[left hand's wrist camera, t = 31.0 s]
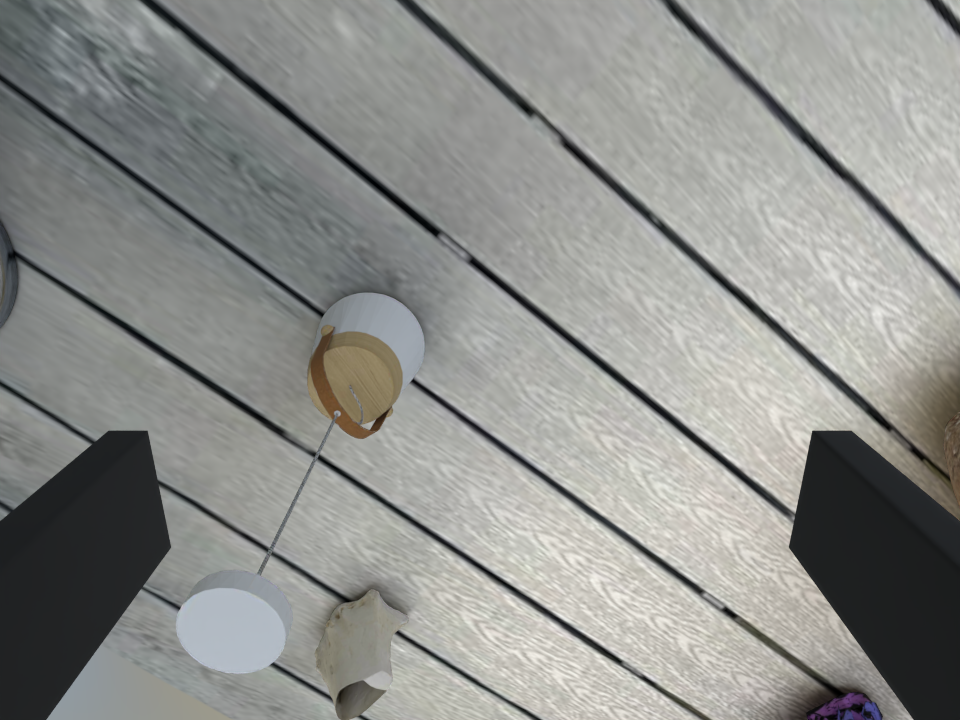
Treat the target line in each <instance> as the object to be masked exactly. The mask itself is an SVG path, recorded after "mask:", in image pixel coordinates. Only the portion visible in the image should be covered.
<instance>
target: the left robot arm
mask: <svg viewBox="0 0 960 720" xmlns="http://www.w3.org/2000/svg"><path fill="white" fill-rule="evenodd" d="M16 291H17V266H16V261H15V256H14V252H13V249H12V246H11V243H10V240H9V238H8V235H7V233H6V231H5V229H4V227H3V225H2V224H1V222H0V328H1V326H2V325H3V324H4V322H5V321H6V320H7V318H8V316H9V314H10V312H11V310H12V307H13V305H14V301H15V297H16ZM170 548H171V544H170V540H169V535H168V530H167V525H166V520H165V515H164V510H163V505H162V500H161V495H160V490H159V485H158V480H157V475H156V470H155V465H154V460H153V455H152V450H151V445H150V440H149V436H148V431H108V432H107V433H105V434H104V435H103V436H102V437H101V438H99V439H98V440H97V441H96V442H95V443H93V444H92V445H91V446H90V447H89V448H87V449H86V450H85V451H84V452H83V453H81V454H80V455H79V456H78V457H77V458H76V459H74V460H73V461H72V462H71V463H70V464H68V465H67V466H66V467H65V468H64V469H62V470H61V471H60V472H59V473H58V474H56V475H55V476H54V477H53V478H52V479H50V480H49V481H48V482H47V483H46V484H44V485H43V486H42V487H41V488H40V489H38V490H37V491H36V492H35V493H34V494H32V495H31V496H30V497H29V498H28V499H26V500H25V501H24V502H23V503H22V504H20V505H19V506H18V507H17V508H16V509H14V510H13V511H12V512H11V513H10V514H8V515H7V516H6V517H5V518H4V519H2V520H1V521H0V720H46V719H47V718H48V716H49V715H50V714H51V712H52V711H53V710H54V708H55V707H56V705H57V704H58V703H59V701H60V700H61V699H62V697H63V696H64V694H65V693H66V692H67V690H68V689H69V688H70V686H71V685H72V683H73V682H74V681H75V679H76V678H77V676H78V675H79V674H80V672H81V671H82V670H83V668H84V667H85V665H86V664H87V663H88V661H89V660H90V659H91V657H92V656H93V654H94V653H95V652H96V650H97V649H98V648H99V646H100V645H101V643H102V642H103V641H104V639H105V638H106V636H107V635H108V634H109V632H110V631H111V630H112V628H113V627H114V625H115V624H116V623H117V621H118V620H119V619H120V617H121V616H122V614H123V613H124V612H125V610H126V609H127V607H128V606H129V605H130V603H131V602H132V601H133V599H134V598H135V596H136V595H137V594H138V592H139V591H140V590H141V588H142V587H143V585H144V584H145V583H146V581H147V580H148V579H149V577H150V576H151V574H152V573H153V572H154V570H155V569H156V567H157V566H158V565H159V563H160V562H161V561H162V559H163V558H164V556H165V555H166V554H167V552H168V551H169V550H170ZM789 548H790V550H791V551H792V552H793V554H794V555H795V556H796V558H797V559H798V561H799V562H800V563H801V565H802V566H803V567H804V569H805V570H806V572H807V573H808V574H809V576H810V577H811V579H812V580H813V581H814V583H815V584H816V585H817V587H818V588H819V590H820V591H821V592H822V594H823V595H824V596H825V598H826V599H827V601H828V602H829V603H830V605H831V606H832V607H833V609H834V610H835V612H836V613H837V614H838V616H839V617H840V619H841V620H842V621H843V623H844V624H845V625H846V627H847V628H848V630H849V631H850V632H851V634H852V635H853V636H854V638H855V639H856V641H857V642H858V643H859V645H860V646H861V648H862V649H863V650H864V652H865V653H866V654H867V656H868V657H869V659H870V660H871V661H872V663H873V664H874V665H875V667H876V668H877V670H878V671H879V672H880V674H881V675H882V676H883V678H884V679H885V681H886V682H887V683H888V685H889V686H890V688H891V689H892V690H893V692H894V693H895V694H896V696H897V697H898V699H899V700H900V701H901V703H902V704H903V705H904V707H905V708H906V710H907V711H908V712H909V714H910V715H911V717H912V718H913V719H914V720H960V521H959V520H958V519H956V518H955V517H954V516H953V515H952V514H950V513H949V512H948V511H947V510H946V509H944V508H943V507H942V506H941V505H940V504H938V503H937V502H936V501H935V500H934V499H932V498H931V497H930V496H929V495H928V494H926V493H925V492H924V491H923V490H922V489H920V488H919V487H918V486H917V485H916V484H914V483H913V482H912V481H911V480H910V479H908V478H907V477H906V476H905V475H904V474H902V473H901V472H900V471H899V470H898V469H896V468H895V467H894V466H893V465H892V464H890V463H889V462H888V461H887V460H886V459H884V458H883V457H882V456H881V455H880V454H879V453H877V452H876V451H875V450H874V449H873V448H871V447H870V446H869V445H868V444H867V443H865V442H864V441H863V440H862V439H861V438H859V437H858V436H857V435H856V434H855V433H853V432H852V431H812V436H811V440H810V445H809V450H808V455H807V460H806V465H805V470H804V475H803V480H802V485H801V490H800V495H799V500H798V505H797V510H796V515H795V520H794V525H793V530H792V535H791V540H790V544H789Z"/></svg>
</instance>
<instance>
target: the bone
mask: <svg viewBox="0 0 960 720" xmlns="http://www.w3.org/2000/svg"><path fill="white" fill-rule="evenodd" d="M408 621H409V617H408V616H407V615H406V614H403V613H402V612H400V611H398V610H395V609H393V608H391V607H390V606H388V605H387V604H386V603H385V602H384V601H383V599H382V598H381V596H380V594H379V592H378V591H376V590H374V589H371V590H369V591H368V592H367V593H366V595H365V596H364V597H362V598H361V599H359V600H357V601H354V602H349V603H343V604H340V605H339V606H337V607H336V608H335V610H334V611H333V613H332V615H331V617H330V620H329V621H328V622H327V623H326V628H325V633H324V635H323V638H322V639H321V641H320V644H319V646H318V647H317V649H316V651H315V657H316V664H317V667H316V671H317V672H319V673H320V674H321V676H322V678H323V680H324V681H325V683H326V684H327V686H328V688H329V692H330V695H331V697H332V699H333V702H334V705H335V710H336V713H337V716H338V718H339V719H341V720H349V719H352V718H355V717H357V716H359V715H360V714H362V713H363V712H364V711H365V710H367V709H368V708H369V707H370V706H371V705H372V704H373V703H374V702H375V701H376V700H378V699H379V698H380V697H381V696H382V695H383V694H384V693H385V692H386V691H387V690H388V689H389V688H390V686H391V684H392V680H393V675H392V669H391V661H390V646H391V640H392V636H393V634H394V633H395V632H396V631H398V630H399V629H400V628H401V627H403V626H404V625H405V624H406V623H407V622H408Z"/></svg>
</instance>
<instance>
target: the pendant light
mask: <svg viewBox="0 0 960 720" xmlns="http://www.w3.org/2000/svg"><path fill="white" fill-rule="evenodd" d="M424 352H425V342H424V336H423V332H422V329H421V327H420V324H419V323H418V321H417V319H416V318H415V316H414V315H413V314H412V312H411V311H410V310H409V309H408V308H407V307H406V306H404V305H403V304H402V303H400V302H399V301H397V300H396V299H394V298H391V297H389V296H387V295H383V294H377V293H357V294H353V295H350V296H347V297H344V298H343V299H341V300H339V301H337V302H336V303H335V304H333V305H332V306H331V307H330V308H329V309H328V310H327V312H326V313H325V314H324V316H323V318H322V319H321V321H320V324H319V327H318V330H317V334H316V338H315V342H314V346H313V350H312V354H311V358H310V362H309V366H308V384H307V385H308V390H309V395H310V397H311V399H312V401H313V403H314V405H315V406H316V407H317V408H318V410H319V411H320V412H321V413H322V414H323V415H325V416H326V417H328V418H329V419H331V420H333V421H332V423H331V425H330V427H329V429H328V431H327V433H326V435H325V437H324V439H323V441H322V443H321V445H320V447H319V449H318V451H317V453H316V455H315V457H314V459H313V461H312V463H311V466H310V468H309V470H308V472H307V474H306V476H305V478H304V480H303V482H302V484H301V486H300V488H299V490H298V492H297V494H296V496H295V498H294V500H293V502H292V504H291V506H290V508H289V510H288V512H287V514H286V516H285V518H284V520H283V522H282V524H281V526H280V528H279V530H278V533H277V535H276V537H275V539H274V541H273V543H272V545H271V547H270V549H269V551H268V553H267V555H266V557H265V559H264V561H263V563H262V565H261V567H260V569H259V571H258V573H257V574H254V573H251V572H247V571H240V570H228V571H220V572H217V573H214V574H211V575H208V576H207V577H205V578H204V579H202V580H201V581H199V582H198V583H197V584H196V585H195V587H194V588H193V589H192V591H191V592H190V594H189V596H188V597H187V599H186V600H185V602H184V604H183V605H182V607H181V609H180V610H179V612H178V615H177V619H176V631H177V635H178V638H179V640H180V642H181V644H182V646H183V648H184V649H185V650H186V651H187V652H188V653H189V654H190V655H191V656H192V657H193V658H194V659H196V660H197V661H198V662H200V663H201V664H203V665H205V666H207V667H209V668H212V669H215V670H218V671H221V672H226V673H239V674H243V673H249V672H255V671H258V670H260V669H263V668H265V667H267V666H269V665H270V664H271V663H273V662H274V661H275V660H276V659H277V658H278V657H279V655H280V654H281V652H282V650H283V648H284V645H285V643H286V640H287V637H288V635H289V632H290V629H291V625H292V621H293V614H292V609H291V605H290V603H289V601H288V599H287V598H286V596H285V594H284V593H283V592H282V591H281V590H280V589H279V587H278V586H276V585H275V584H274V583H272V582H271V581H270V580H268V579H266V578H264V577H262V576H261V573H262V571H263V569H264V567H265V565H266V563H267V561H268V559H269V557H270V555H271V553H272V551H273V549H274V547H275V545H276V542H277V540H278V538H279V536H280V534H281V532H282V530H283V528H284V526H285V524H286V522H287V520H288V518H289V516H290V514H291V512H292V509H293V507H294V505H295V503H296V501H297V499H298V497H299V495H300V493H301V491H302V489H303V487H304V485H305V483H306V481H307V478H308V476H309V474H310V472H311V470H312V468H313V466H314V464H315V462H316V460H317V458H318V456H319V454H320V452H321V450H322V447H323V445H324V443H325V441H326V439H327V437H328V435H329V433H330V431H331V429H332V427H333V425H334V423H336V424H337V425H338V426H339V427H340V428H341V429H342V430H343V431H345V432H346V433H347V434H349V435H351V436H352V437H355V438H358V439H364V438H366V437H368V436H370V435H371V434H373V433H375V432H377V431H378V430H379V429H380V428H381V426H382V424H383V422H384V420H385V418H386V417H389V416H391V415H392V413H393V409H392V405H393V404H394V403H395V402H396V400H397V398H398V397H399V396H400V394H401V393H402V392H403V390H404V389H405V388H406V387H407V385H408V384H409V383H410V381H411V380H412V379H413V378H414V376H415V375H416V373H417V372H418V370H419V369H420V366H421V364H422V361H423V358H424ZM375 419H376V421H375V422H374V424H373V426H372V427H371V429H370V430H367V429H365V428H363V427H362V426H360V425H361V424H365V423H369V422H371V421H373V420H375Z"/></svg>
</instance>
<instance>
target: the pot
mask: <svg viewBox="0 0 960 720" xmlns="http://www.w3.org/2000/svg"><path fill="white" fill-rule="evenodd" d="M943 447H944V452H945V457H946V462H947V467H948V471H949V475H950V479H951V483H952V487H953V491H954V494H955V496H956V499H957V502H958V505H959V508H960V411H959V412H958V413H957V414H956V415H955V416H954V417H953V418H952V419H951V420H950V421H949V422H948V424H947V425H946V429H945V436H944V445H943Z"/></svg>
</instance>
